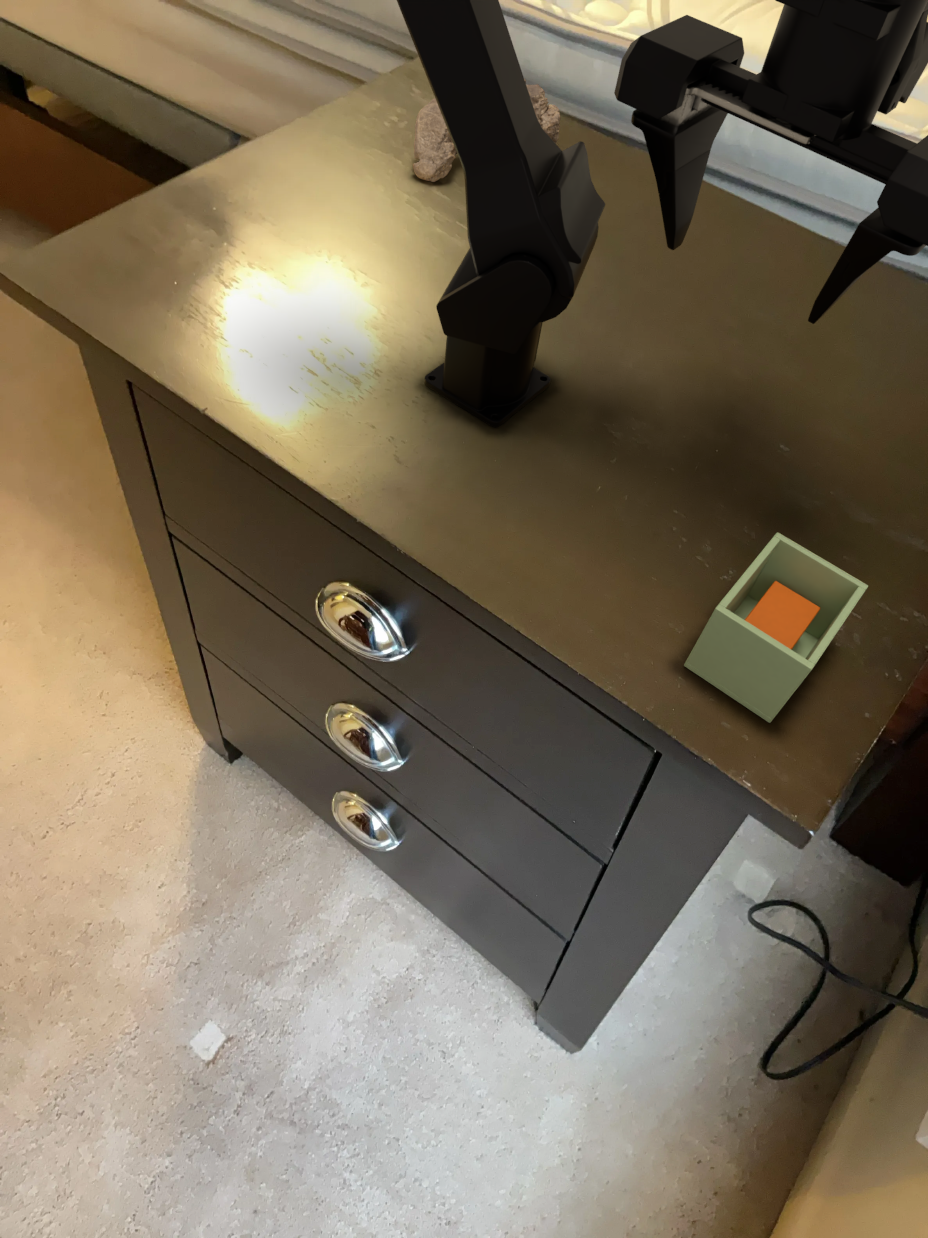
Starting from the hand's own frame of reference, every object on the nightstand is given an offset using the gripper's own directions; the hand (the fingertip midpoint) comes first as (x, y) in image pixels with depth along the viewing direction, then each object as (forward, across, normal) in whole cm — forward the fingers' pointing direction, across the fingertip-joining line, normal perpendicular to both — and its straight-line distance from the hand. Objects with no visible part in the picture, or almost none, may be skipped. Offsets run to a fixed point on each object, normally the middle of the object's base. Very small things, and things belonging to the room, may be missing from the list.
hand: (742, 281), depth 49 cm
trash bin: (+12, -13, +12) cm, 21 cm away
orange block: (+12, -13, +12) cm, 21 cm away
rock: (+12, +32, -18) cm, 39 cm away
